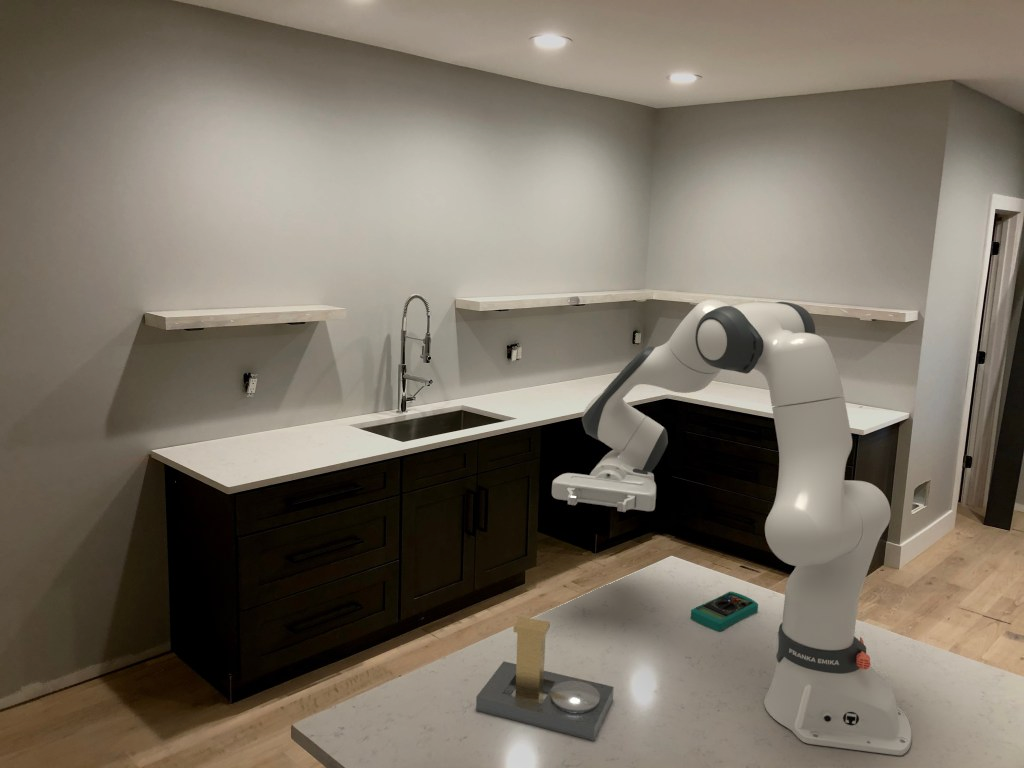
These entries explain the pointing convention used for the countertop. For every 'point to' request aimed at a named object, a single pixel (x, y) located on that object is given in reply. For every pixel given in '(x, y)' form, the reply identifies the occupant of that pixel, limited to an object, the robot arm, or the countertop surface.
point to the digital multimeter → (724, 611)
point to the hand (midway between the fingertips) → (596, 504)
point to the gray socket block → (549, 702)
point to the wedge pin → (530, 658)
